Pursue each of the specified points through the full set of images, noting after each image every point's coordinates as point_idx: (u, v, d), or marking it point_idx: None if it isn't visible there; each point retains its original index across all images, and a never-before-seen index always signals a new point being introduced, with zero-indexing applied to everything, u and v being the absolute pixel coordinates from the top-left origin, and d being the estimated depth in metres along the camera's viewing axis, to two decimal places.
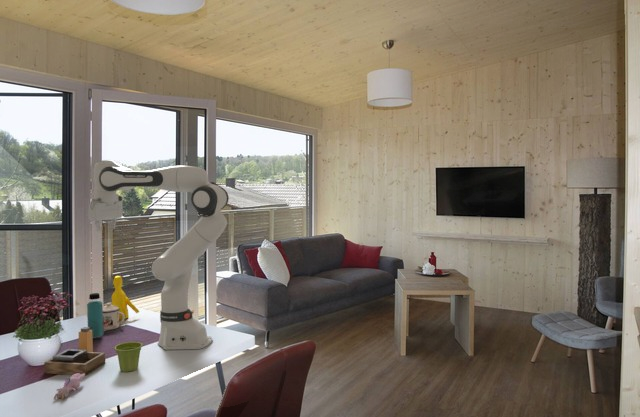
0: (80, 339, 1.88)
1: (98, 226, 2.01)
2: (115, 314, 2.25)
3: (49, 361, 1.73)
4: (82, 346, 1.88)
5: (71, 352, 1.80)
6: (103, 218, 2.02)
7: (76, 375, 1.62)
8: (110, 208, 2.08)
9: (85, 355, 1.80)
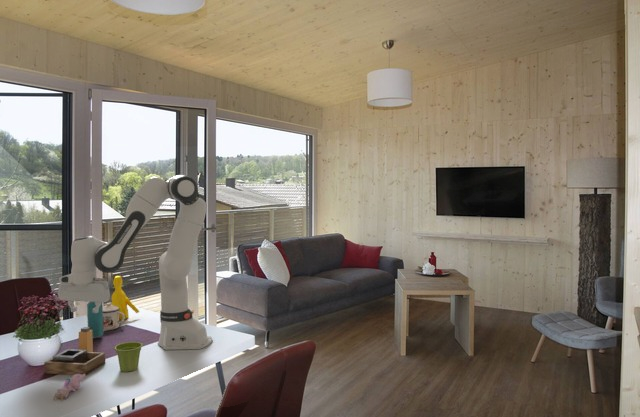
0: (80, 339, 1.88)
1: (98, 307, 1.88)
2: (115, 314, 2.25)
3: (49, 361, 1.73)
4: (83, 346, 1.88)
5: (71, 352, 1.80)
6: None
7: (76, 375, 1.62)
8: None
9: (85, 355, 1.80)
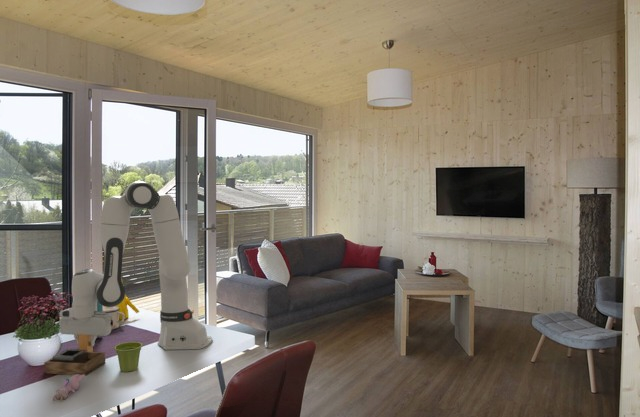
0: (80, 339, 1.88)
1: (93, 340, 1.89)
2: (115, 314, 2.25)
3: (49, 361, 1.73)
4: (82, 346, 1.88)
5: (71, 352, 1.80)
6: None
7: (76, 376, 1.62)
8: None
9: (85, 355, 1.80)
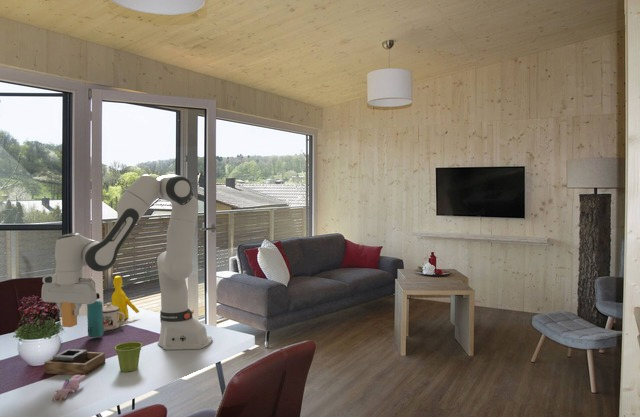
0: (63, 307, 1.76)
1: (78, 309, 1.77)
2: (115, 314, 2.25)
3: (49, 361, 1.73)
4: (66, 315, 1.76)
5: (71, 352, 1.80)
6: None
7: (76, 376, 1.61)
8: None
9: (85, 355, 1.80)
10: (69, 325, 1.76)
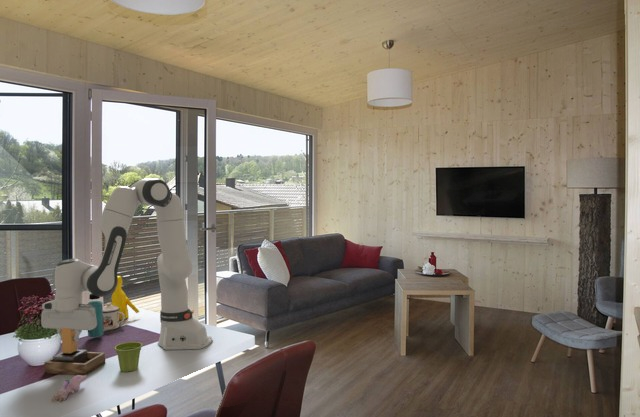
0: (63, 333, 1.75)
1: (78, 335, 1.76)
2: (115, 314, 2.25)
3: (49, 361, 1.73)
4: (66, 341, 1.75)
5: None
6: None
7: (77, 377, 1.61)
8: None
9: (85, 355, 1.80)
10: (69, 351, 1.75)
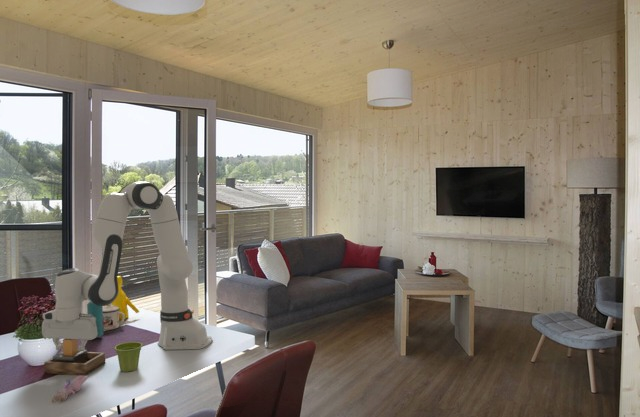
0: (64, 347, 1.75)
1: (84, 345, 1.76)
2: (115, 314, 2.25)
3: (49, 361, 1.73)
4: (67, 355, 1.75)
5: None
6: None
7: (79, 377, 1.61)
8: None
9: (85, 355, 1.80)
10: None
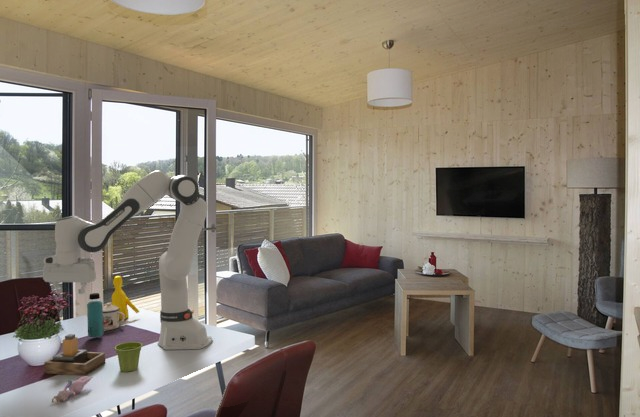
0: (64, 347, 1.75)
1: (83, 288, 1.86)
2: (115, 314, 2.25)
3: (49, 361, 1.73)
4: (67, 355, 1.75)
5: None
6: None
7: (83, 378, 1.60)
8: None
9: (85, 355, 1.80)
10: None
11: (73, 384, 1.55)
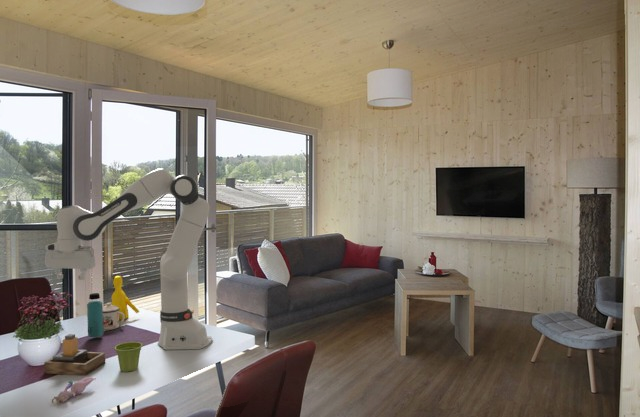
0: (64, 347, 1.75)
1: (83, 274, 1.95)
2: (115, 314, 2.25)
3: (49, 361, 1.73)
4: (67, 355, 1.75)
5: None
6: None
7: (86, 379, 1.59)
8: None
9: (85, 355, 1.80)
10: None
11: (74, 385, 1.54)
